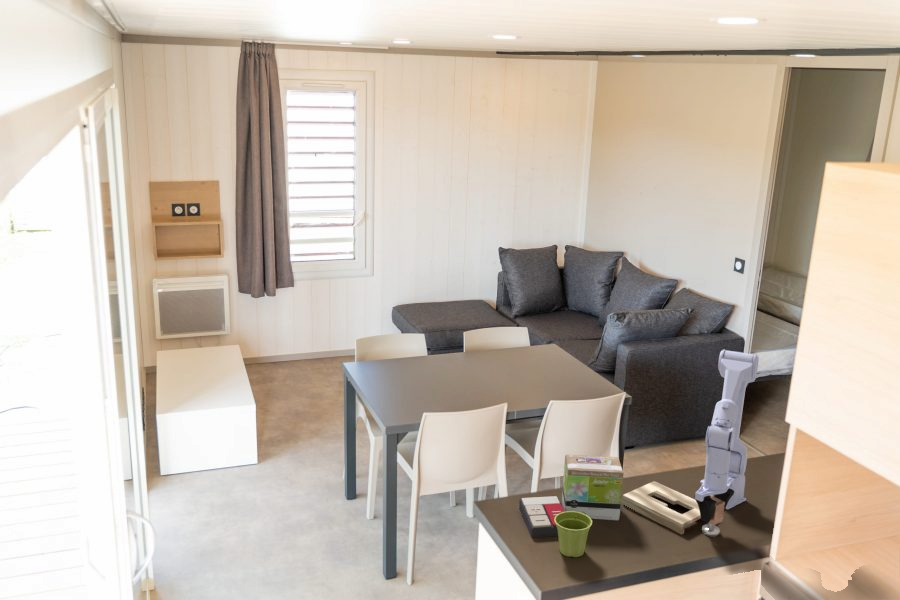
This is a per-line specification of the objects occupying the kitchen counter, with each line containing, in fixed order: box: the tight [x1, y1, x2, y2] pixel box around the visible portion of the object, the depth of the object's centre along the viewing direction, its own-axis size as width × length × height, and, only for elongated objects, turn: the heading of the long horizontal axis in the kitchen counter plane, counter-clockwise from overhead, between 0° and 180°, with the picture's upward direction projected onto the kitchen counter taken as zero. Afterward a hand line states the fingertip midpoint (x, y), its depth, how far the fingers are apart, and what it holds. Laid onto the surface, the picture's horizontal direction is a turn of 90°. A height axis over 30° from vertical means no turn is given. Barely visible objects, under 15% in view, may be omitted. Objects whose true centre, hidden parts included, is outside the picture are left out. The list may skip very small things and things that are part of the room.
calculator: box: [518, 495, 565, 538], centre depth 214 cm, size 11×4×15 cm
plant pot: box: [554, 511, 593, 558], centre depth 200 cm, size 9×9×9 cm
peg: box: [701, 496, 725, 538], centre depth 209 cm, size 4×4×9 cm
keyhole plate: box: [621, 480, 701, 535], centre depth 220 cm, size 14×20×3 cm
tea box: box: [561, 454, 624, 522], centre depth 219 cm, size 15×10×15 cm, turn 87°
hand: (712, 517), depth 209 cm, fingers open, 5 cm apart
